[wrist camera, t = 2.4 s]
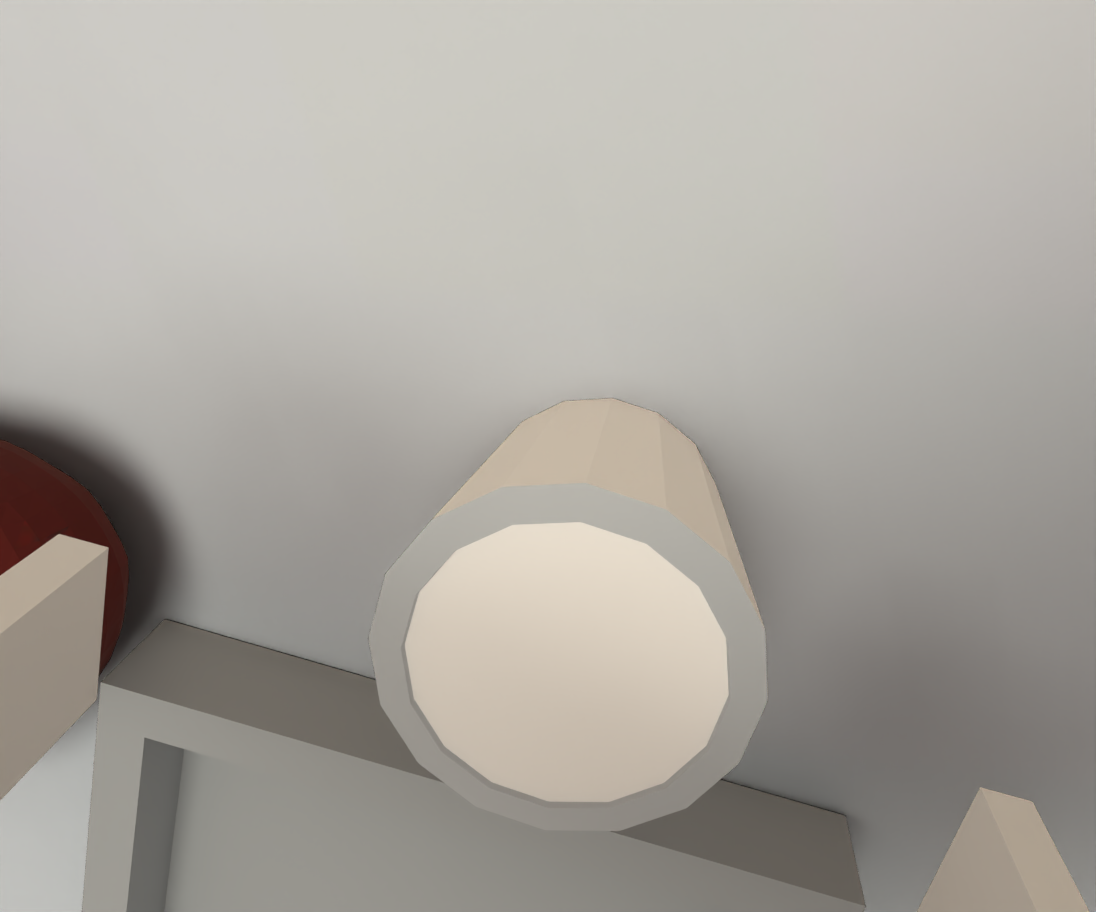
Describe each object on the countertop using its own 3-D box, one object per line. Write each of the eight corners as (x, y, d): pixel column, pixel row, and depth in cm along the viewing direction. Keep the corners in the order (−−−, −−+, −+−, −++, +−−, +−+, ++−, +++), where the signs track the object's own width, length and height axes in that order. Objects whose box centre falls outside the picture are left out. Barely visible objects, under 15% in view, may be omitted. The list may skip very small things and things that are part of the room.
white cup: (506, 662, 25) (441, 863, 18) (417, 412, 23) (306, 536, 16) (776, 608, 23) (811, 806, 16) (705, 335, 21) (714, 438, 14)
